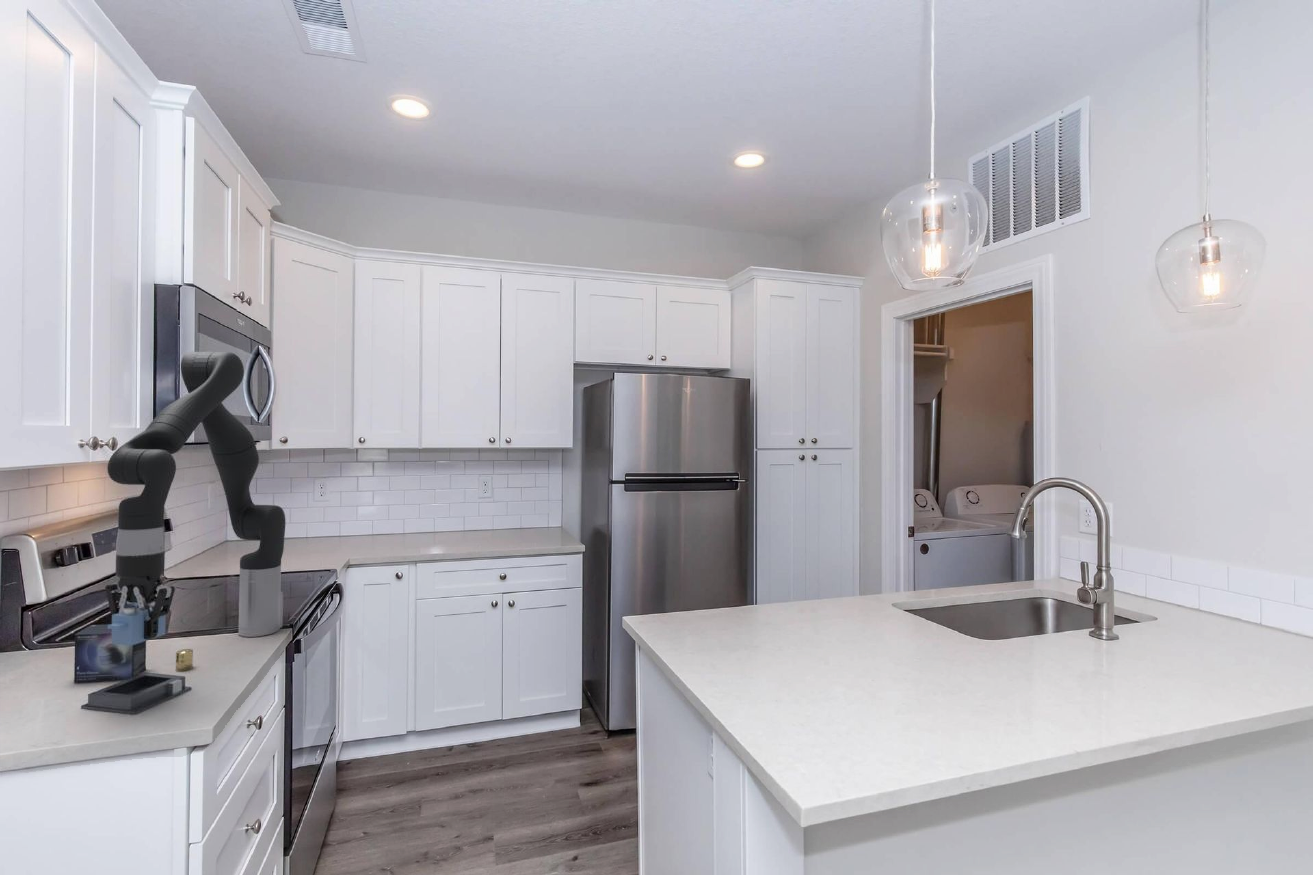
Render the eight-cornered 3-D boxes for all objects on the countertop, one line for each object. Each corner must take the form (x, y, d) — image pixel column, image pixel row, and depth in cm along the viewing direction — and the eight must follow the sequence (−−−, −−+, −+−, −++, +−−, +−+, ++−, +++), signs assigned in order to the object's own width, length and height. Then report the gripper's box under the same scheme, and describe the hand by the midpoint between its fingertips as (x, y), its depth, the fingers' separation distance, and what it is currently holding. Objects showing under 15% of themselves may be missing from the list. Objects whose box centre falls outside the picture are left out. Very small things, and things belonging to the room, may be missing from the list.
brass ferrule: (184, 666, 144) (184, 648, 144) (196, 667, 144) (196, 649, 144) (172, 670, 141) (172, 652, 141) (184, 672, 141) (184, 653, 141)
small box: (71, 684, 133) (72, 633, 133) (89, 672, 139) (90, 624, 139) (131, 680, 136) (132, 630, 136) (147, 669, 142) (148, 621, 142)
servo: (154, 630, 132) (154, 598, 132) (172, 631, 132) (173, 600, 131) (102, 646, 122) (103, 612, 122) (122, 648, 121) (123, 613, 121)
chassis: (141, 684, 134) (141, 671, 134) (191, 689, 132) (191, 676, 132) (80, 708, 122) (81, 694, 122) (134, 714, 120) (135, 700, 120)
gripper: (189, 549, 129) (187, 634, 129) (128, 545, 132) (127, 628, 132) (154, 556, 122) (152, 646, 122) (90, 551, 124) (88, 640, 124)
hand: (139, 636), depth 127 cm, fingers closed on servo, 4 cm apart
